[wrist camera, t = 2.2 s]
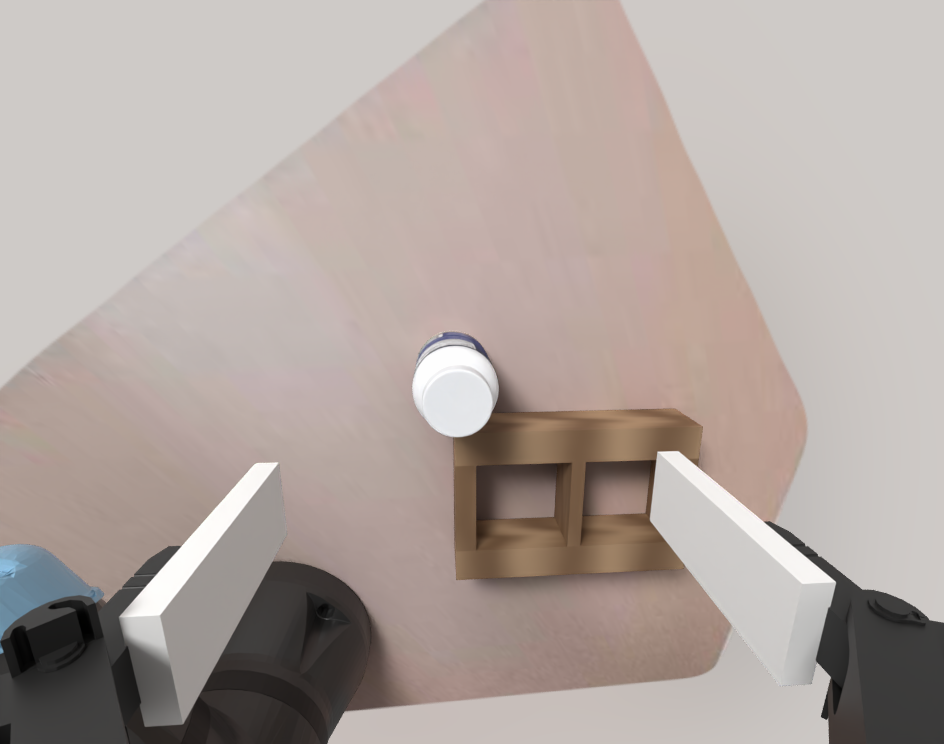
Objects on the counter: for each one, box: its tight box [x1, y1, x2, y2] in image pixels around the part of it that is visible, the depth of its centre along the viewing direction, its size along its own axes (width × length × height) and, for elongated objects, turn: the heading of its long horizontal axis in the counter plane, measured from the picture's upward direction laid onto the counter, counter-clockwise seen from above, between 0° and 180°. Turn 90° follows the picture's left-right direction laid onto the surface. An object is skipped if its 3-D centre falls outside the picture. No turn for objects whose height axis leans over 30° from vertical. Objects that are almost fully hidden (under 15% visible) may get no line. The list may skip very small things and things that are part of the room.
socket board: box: [453, 409, 703, 580], centre depth 35 cm, size 18×12×4 cm, turn 90°
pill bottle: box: [412, 331, 499, 437], centre depth 30 cm, size 5×5×10 cm
